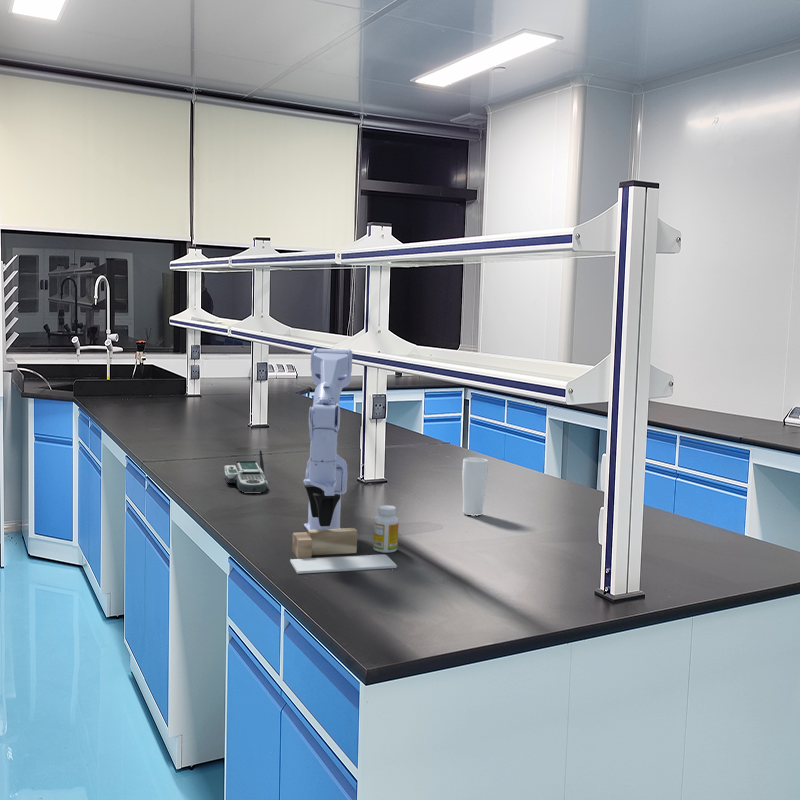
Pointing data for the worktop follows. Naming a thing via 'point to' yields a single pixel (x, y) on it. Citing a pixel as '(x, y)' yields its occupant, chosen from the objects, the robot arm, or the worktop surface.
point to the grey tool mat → (342, 563)
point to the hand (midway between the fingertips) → (320, 521)
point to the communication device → (247, 475)
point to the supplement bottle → (386, 529)
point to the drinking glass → (474, 484)
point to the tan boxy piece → (324, 542)
